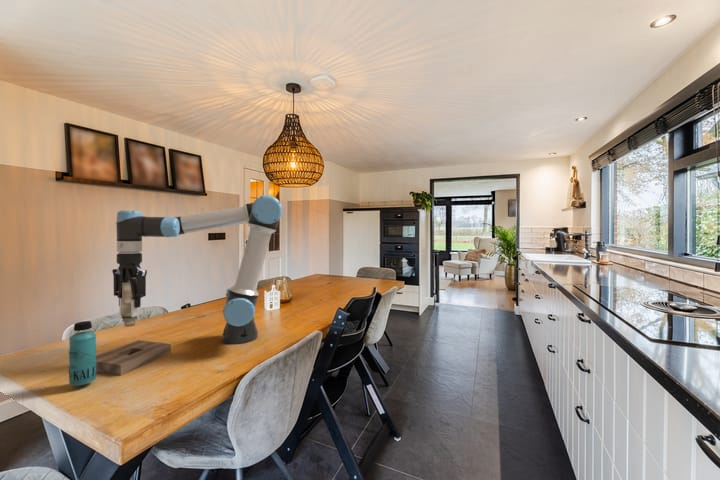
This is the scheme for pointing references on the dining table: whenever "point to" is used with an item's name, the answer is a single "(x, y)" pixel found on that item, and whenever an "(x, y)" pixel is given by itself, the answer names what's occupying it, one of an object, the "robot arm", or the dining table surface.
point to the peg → (127, 305)
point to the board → (130, 356)
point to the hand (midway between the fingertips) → (129, 315)
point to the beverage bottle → (82, 355)
